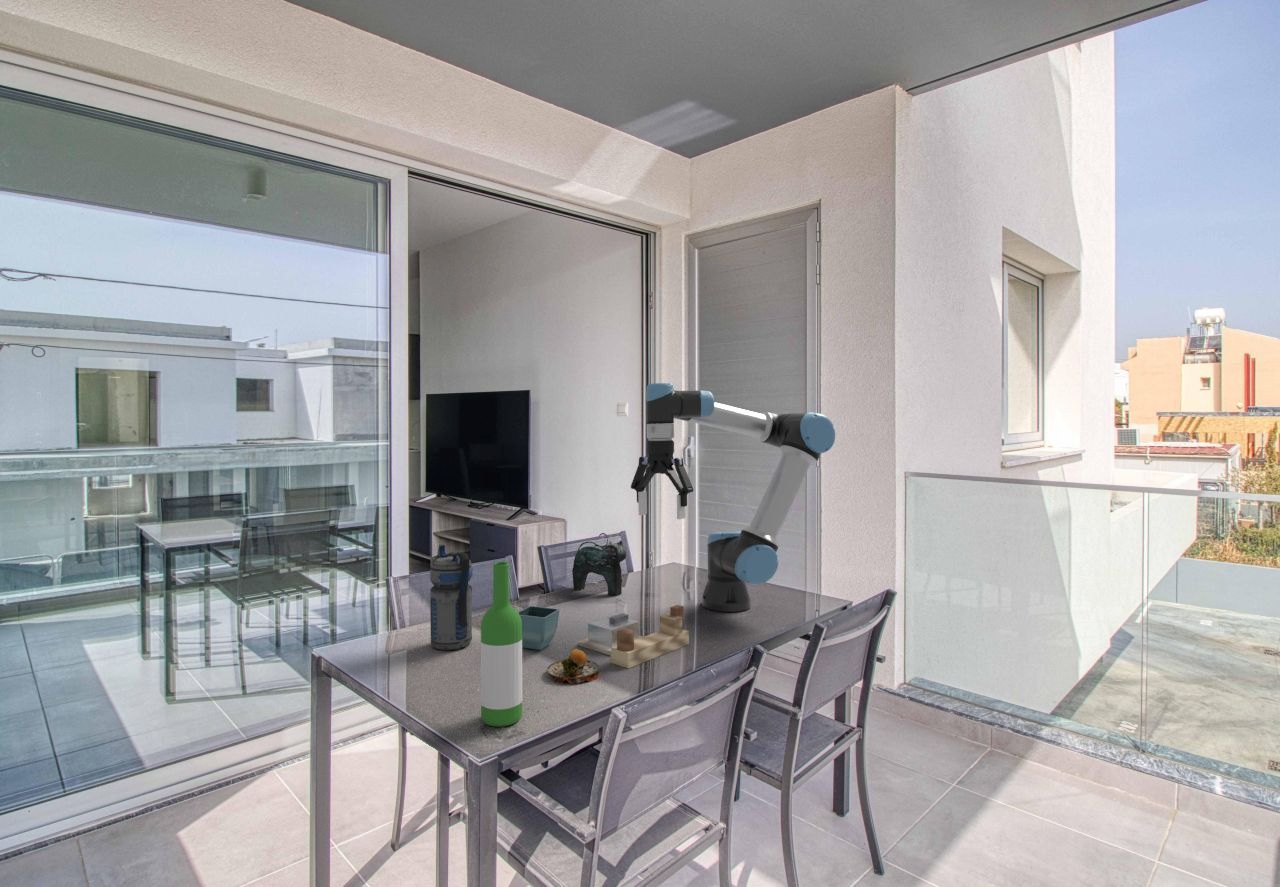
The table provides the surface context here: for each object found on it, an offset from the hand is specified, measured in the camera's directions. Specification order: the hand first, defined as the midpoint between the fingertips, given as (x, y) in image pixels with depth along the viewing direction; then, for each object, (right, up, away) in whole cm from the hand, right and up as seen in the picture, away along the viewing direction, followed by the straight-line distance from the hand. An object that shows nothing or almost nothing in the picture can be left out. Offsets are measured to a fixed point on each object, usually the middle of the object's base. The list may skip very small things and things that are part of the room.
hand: (661, 516), depth 187 cm
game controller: (-20, -30, +40) cm, 54 cm away
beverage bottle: (-53, -31, -15) cm, 64 cm away
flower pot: (-32, -32, -15) cm, 47 cm away
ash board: (-13, -31, -13) cm, 36 cm away
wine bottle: (-32, -33, -58) cm, 74 cm away
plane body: (-3, -31, -20) cm, 37 cm away
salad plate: (-21, -32, -34) cm, 52 cm away
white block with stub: (-13, -30, -13) cm, 35 cm away
